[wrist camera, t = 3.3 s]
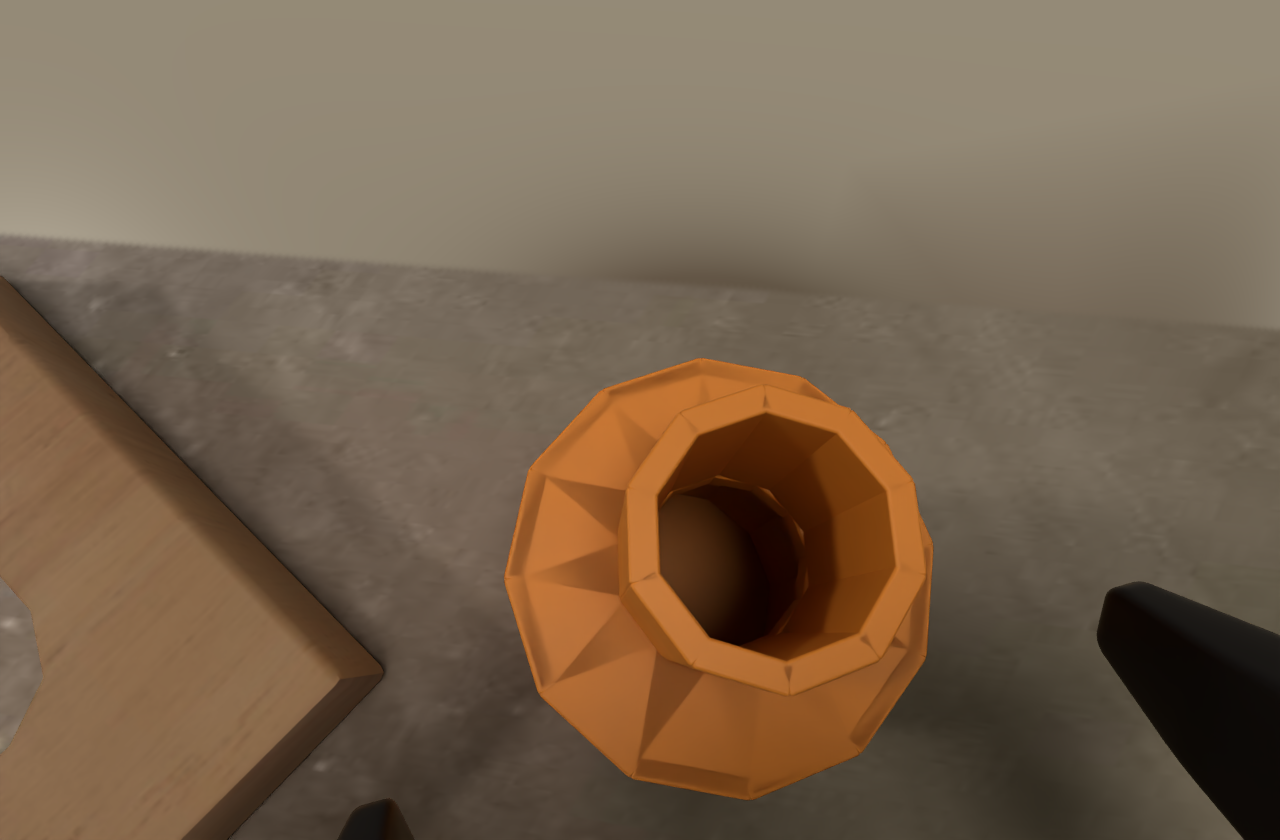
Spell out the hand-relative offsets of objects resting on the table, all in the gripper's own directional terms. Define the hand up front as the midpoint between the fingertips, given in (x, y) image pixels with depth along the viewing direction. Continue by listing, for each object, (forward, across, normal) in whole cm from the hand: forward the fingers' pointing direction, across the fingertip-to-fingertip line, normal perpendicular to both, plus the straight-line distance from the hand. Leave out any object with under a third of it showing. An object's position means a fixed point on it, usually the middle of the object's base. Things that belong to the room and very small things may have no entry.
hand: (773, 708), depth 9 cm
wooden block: (+5, +9, +6) cm, 12 cm away
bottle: (+8, 0, +5) cm, 10 cm away
